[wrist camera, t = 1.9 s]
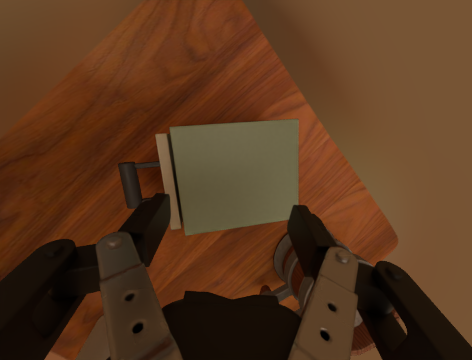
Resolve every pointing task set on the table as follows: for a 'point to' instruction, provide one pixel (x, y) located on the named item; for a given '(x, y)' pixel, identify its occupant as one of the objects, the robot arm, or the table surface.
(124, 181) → the beige drawer
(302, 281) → the mug
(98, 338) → the detergent bottle
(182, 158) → the green drawer cabinet
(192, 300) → the robot arm
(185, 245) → the table surface
